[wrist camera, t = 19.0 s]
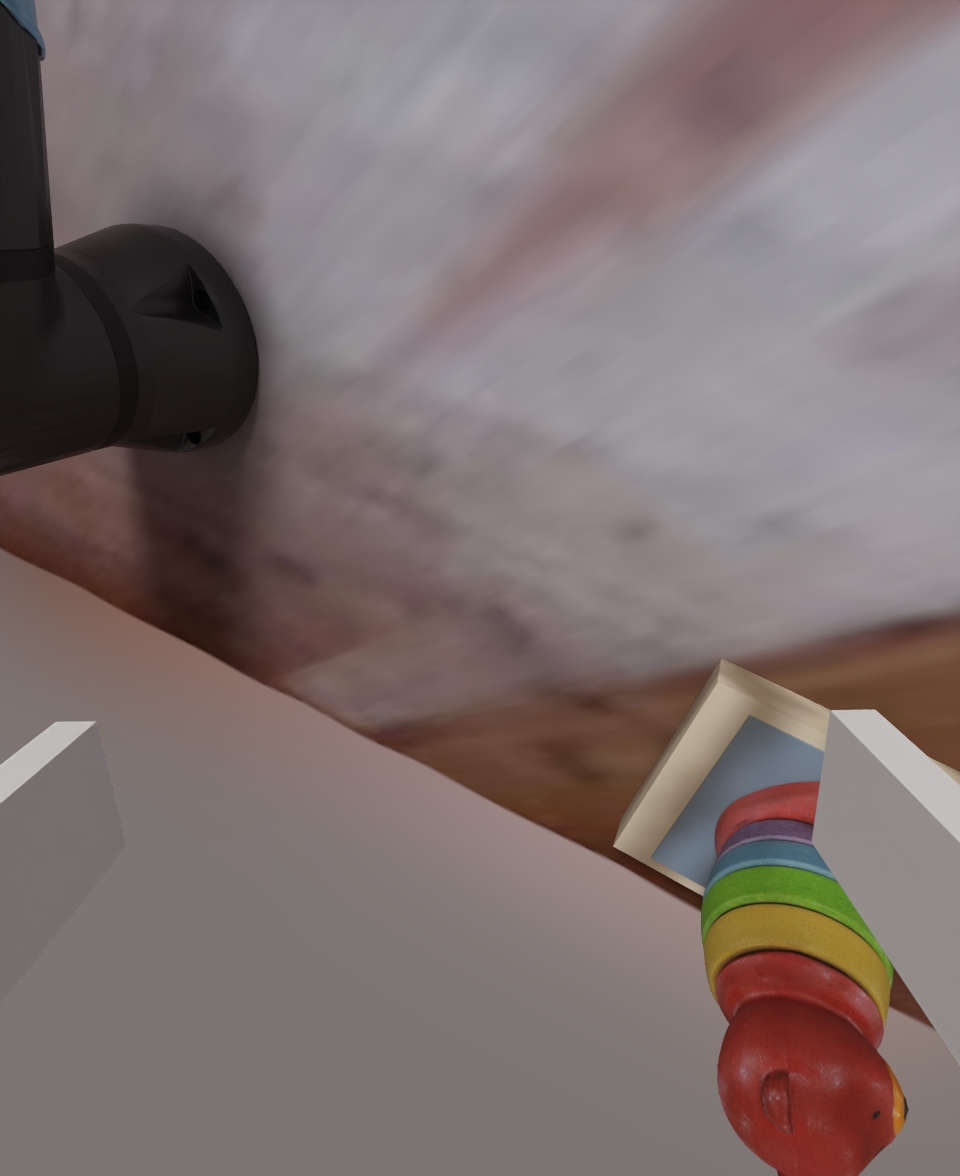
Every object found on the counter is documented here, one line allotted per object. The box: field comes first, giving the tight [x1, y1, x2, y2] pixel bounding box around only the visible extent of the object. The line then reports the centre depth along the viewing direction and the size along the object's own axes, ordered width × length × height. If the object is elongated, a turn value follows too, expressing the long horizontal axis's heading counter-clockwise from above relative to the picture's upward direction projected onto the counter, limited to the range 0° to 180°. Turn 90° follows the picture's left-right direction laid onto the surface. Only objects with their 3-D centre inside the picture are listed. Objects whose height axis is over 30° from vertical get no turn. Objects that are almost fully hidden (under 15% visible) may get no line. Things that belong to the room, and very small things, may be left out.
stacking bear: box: [701, 781, 909, 1176], centre depth 34 cm, size 11×10×18 cm
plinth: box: [613, 658, 960, 896], centre depth 43 cm, size 18×16×3 cm
